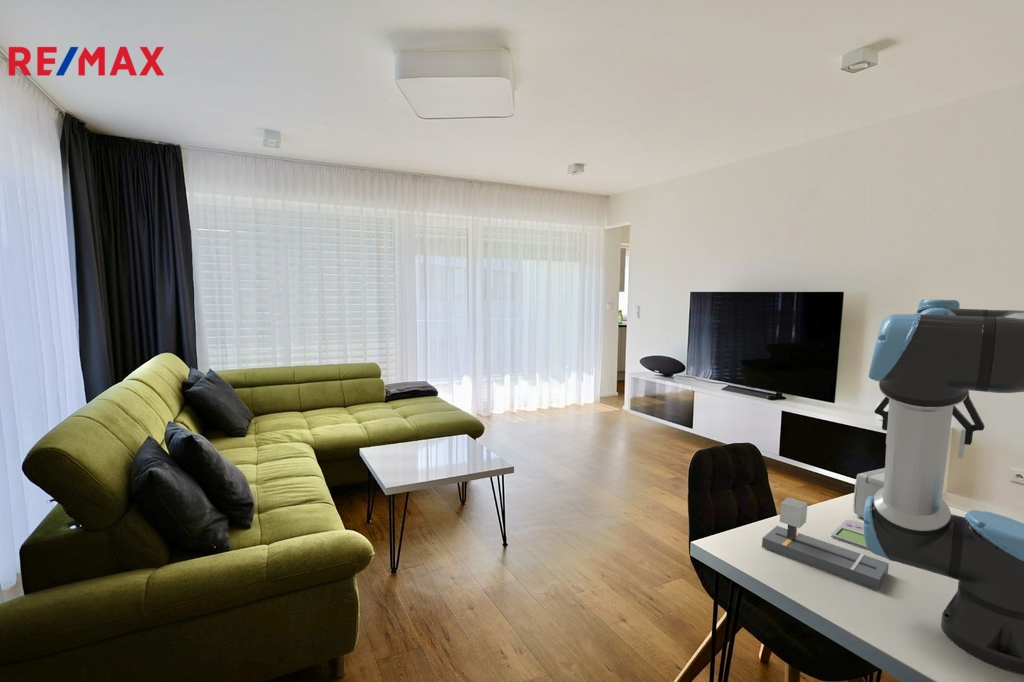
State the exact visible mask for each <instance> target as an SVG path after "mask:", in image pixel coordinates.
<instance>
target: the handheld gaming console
mask: <svg viewBox="0 0 1024 682" xmlns="http://www.w3.org/2000/svg"><path fill="white" fill-rule="evenodd" d="M863 525H864V522H859V521H857V520H852V519H846V520H844V521H843V522H842V523H841V524H840V525H839V526H838V527H836V528H835V530H834V531H833V532H832V533H831V538H832V539H833V540H837V541H839V542H842V543H846V544H849V545H852V546H855V547H858V548H860V549H864V550H866V551H870V550H869V549H868V547H867V545H866V542H865V538H864V528H863ZM870 552H871V551H870Z"/></svg>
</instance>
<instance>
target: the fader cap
mask: <svg viewBox="0 0 1024 682" xmlns="http://www.w3.org/2000/svg"><path fill="white" fill-rule="evenodd" d="M779 513H780V514H779V522H780V523H782V524H785V525H787V529H788V530H787V538H789V539H792V540H795V539H796V532H798V531H797V530H798V529H801V527H802V526H803V525H804V524H806V522H807V514H808V502H805V501H803V500H799V499H796V498H792V497H789V496H788V497H786V498H784V500H782V501H781V502H780V511H779Z"/></svg>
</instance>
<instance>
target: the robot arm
mask: <svg viewBox="0 0 1024 682" xmlns="http://www.w3.org/2000/svg"><path fill="white" fill-rule="evenodd" d="M960 306H961V305H960V301H958V300H955V299H921V300H920V301H919V302H918V305H917V310H916V312H915V313H911V314H910V313H897V314H896V313H894V314H889V315H887V316H886V317H884V318H883V319H882V321H881V324H880V327H879V330H878V334H877V337H876V341H875V346H874V349H873V355H872V358H871V362H870V363H871V364H870V368H869V371H868V378H869V379H871V380H872V381H873V380H874V381H875V382H878V386H879V391H880V392H881V394H883V396H885V397H884V398H883V399H882V401H880V403H879V404H878V406H877V407H876V408H875V409H874V414H875V415H879V416H881V418H882V423H881V428H882V430H883V431H886V437H885V444H886V445H885V446H886V447H885V456H886V457H885V461H884V462H885V463H884V464H885V465H884V468H885V477H884V487H883V488H881V489H879V490H878V491H877V492H876V494H875V496H869V497H867V499H866V502H865V506H864V515H863V518H862V519H863V523H864V525H863V528H864V538H865V542H866V545H867V547H868V549H869V550H870V552H871V553H872V554H874V555H875V556H879V557H881V558H885V559H886V560H888V561H891V562H897V563H899V564H903V565H907V566H910V567H913V568H917V569H921V570H924V571H927V572H929V573H933V574H937V575H940V576H944V577H948V578H950V579H954V580H957V581H958V585H957V589H956V592H955V593H954V595H953V596H952V598H951V599H950V601H949V603H948V604H947V605H946V607H945V609H944V610H943V612H942V613H941V619H940V620H941V621H940V628H941V630H942V632H943V634H944V635H945V636H946V637H947V638H948V639H949V640H950V641H951V642H952V643H954V644H955V645H956V646H958V647H959V648H961V649H963V650H964V651H965V652H966V653H968V654H970V655H971V656H972V655H973V656H975V657H976V658H977V659H980V660H982V661H984V662H986V663H988V664H990V665H994V666H995V667H999V668H1002V669H1004V670H1008V671H1010V672H1013V673H1018V674H1022V675H1024V523H1023V522H1021V521H1019V520H1016V519H1014V518H1010V517H1008V516H1006V515H1005V516H1004V515H1002V514H1000V513H999V514H998V513H994V512H991V511H986V510H983V511H981V510H977V509H975V510H974V509H971V510H969V511H967V513H965V514H964V517H963V516H960V515H956V514H952V513H951V512H952V511H951V508H950V507H949V505H948V504H947V503H946V502H945V501H944V499H943V494H944V493H943V492H944V483H945V477H946V475H945V474H946V468H947V459H948V450H949V444H950V435H951V434H950V433H951V427H952V418H953V417H954V418H955V419H956V420H957V421H958V423H959V424H960V425H961V426H962V427H963V428H962V429H961V430H960V438H959V446H958V455H957V459H960V460H962V459H963V458H964V455H965V448H966V445H967V446H971V444H972V443H973V434H974V432H976V431H977V432H978V431H980V432H981V431H984V429H985V424H984V422H983V420H982V418H981V416H980V415H979V413H978V411H977V409H976V407H975V404H974V403H973V401H972V399H971V398H970V391H974V392H975V391H976V392H984V393H994V394H1012V393H1013V394H1016V393H1024V310H1017V309H1016V310H1014V309H1013V310H1012V309H1010V310H1009V309H1007V310H1006V309H983V308H982V309H980V308H979V309H975V308H961V307H960ZM961 403H963V404H964V405H963V406H964V407H965V409H966V411H967V412H968V414H969V416H970V419H971V421H972V423H973V424H972V423H971V422H970V421H969V420H968V419H967V418H966V416H965V415H964V414H963V413H962V412H961V411H960V410H959V409H958V408H957V407H956V406H957V405H959V404H961ZM887 406H888V410H887V411H886V410H885V408H887ZM869 550H868V551H869Z"/></svg>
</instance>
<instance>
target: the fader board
mask: <svg viewBox="0 0 1024 682" xmlns="http://www.w3.org/2000/svg"><path fill="white" fill-rule="evenodd" d="M787 530H788V528H785V527H781V526H779V525H776V526H775V527H774V528H772V529H771V530H770V531H768V533H766V534H765V535H764V536H763V537H762V538H761V539H762V540H761V548H763V547H764V549H765V548H767V549H766V550H768V549H769V551H771V550H772V551H771V552H773V551H774V552H773V553H776V552H777V554H779V555H781V554H782V556H784V555H785V556H784V557H786V558H790V559H793V560H794V561H797V560H798V561H797V562H800V563H804V564H805V563H806V565H807V566H808V565H809V566H811V567H814V568H817V569H820V570H822V571H824V572H827V573H830V574H833V575H835V576H838V577H840V578H842V579H846V580H849V581H850V582H853V583H856V584H860V585H862V586H863V587H867V588H869V589H873V590H875V591H880V588H881V587H882V585H883V583H884V581H885V579H886V578H887V576H888V573H889V566H890V565H889V562H886V561H883V560H880V559H878V558H874V557H871V556H868V555H865V554H863V553H858V552H856V551H853V550H850V549H847V548H845V547H841V546H839V545H835V544H833V543H830V542H826V541H824V540H821V539H818V538H814V537H812V536H809V535H806V534H803V533H800V532H799V531H797V532H796V539H795V540H792V539H789V538H787ZM880 586H881V587H880Z"/></svg>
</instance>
